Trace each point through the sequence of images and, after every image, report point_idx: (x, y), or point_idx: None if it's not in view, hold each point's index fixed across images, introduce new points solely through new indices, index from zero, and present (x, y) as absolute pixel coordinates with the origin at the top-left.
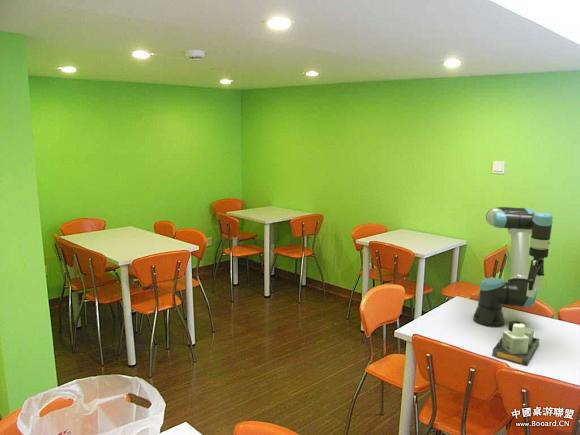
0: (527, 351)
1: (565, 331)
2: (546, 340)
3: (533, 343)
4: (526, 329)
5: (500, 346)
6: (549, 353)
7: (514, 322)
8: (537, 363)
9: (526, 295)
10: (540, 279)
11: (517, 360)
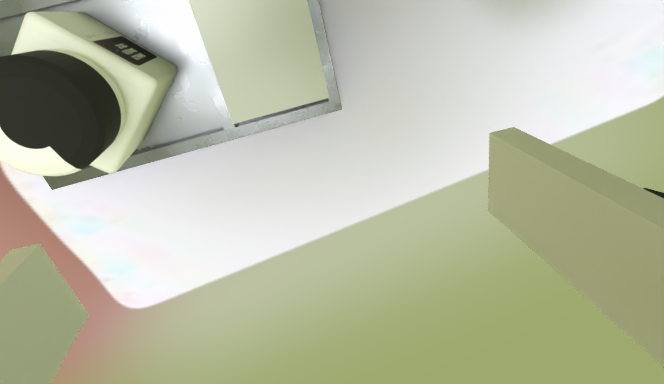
0: (169, 129)
1: (575, 103)
2: (415, 98)
3: None
4: (280, 73)
5: (75, 6)
6: (286, 168)
7: (6, 107)
8: (141, 187)
9: (4, 257)
10: (621, 310)
11: None
